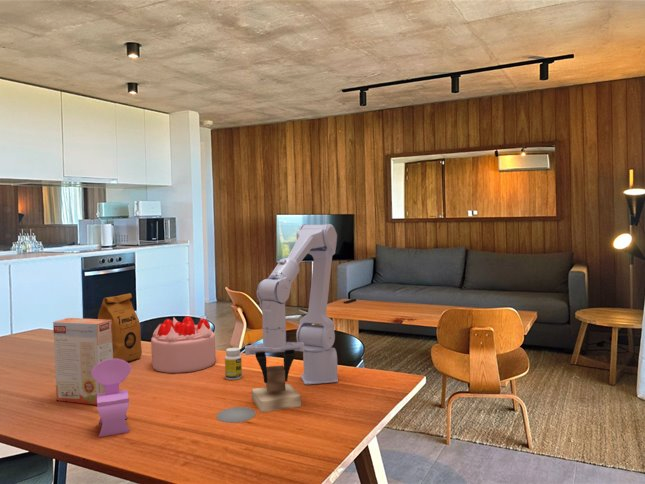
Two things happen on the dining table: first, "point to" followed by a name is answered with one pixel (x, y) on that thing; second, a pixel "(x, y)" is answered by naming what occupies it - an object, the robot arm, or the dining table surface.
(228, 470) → the dining table surface
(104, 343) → the cracker box
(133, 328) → the coffee package
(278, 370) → the walnut block
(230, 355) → the supplement bottle
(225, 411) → the felt coaster
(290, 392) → the maple block
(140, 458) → the dining table surface
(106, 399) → the toy chair
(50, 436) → the dining table surface
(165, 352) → the cake
